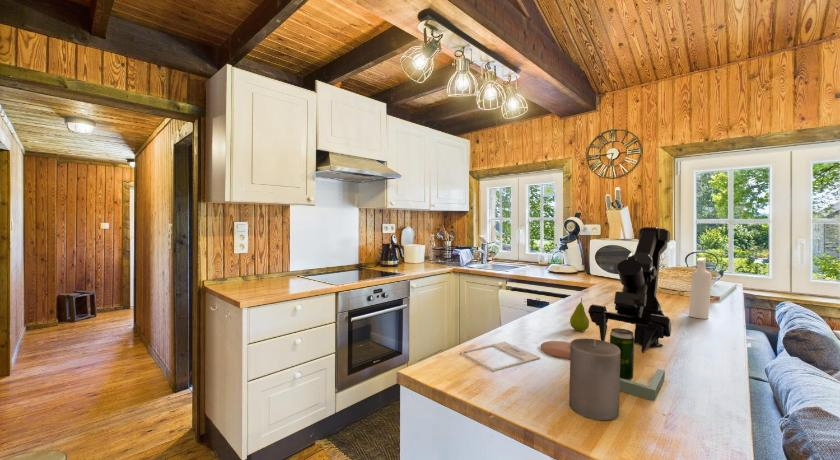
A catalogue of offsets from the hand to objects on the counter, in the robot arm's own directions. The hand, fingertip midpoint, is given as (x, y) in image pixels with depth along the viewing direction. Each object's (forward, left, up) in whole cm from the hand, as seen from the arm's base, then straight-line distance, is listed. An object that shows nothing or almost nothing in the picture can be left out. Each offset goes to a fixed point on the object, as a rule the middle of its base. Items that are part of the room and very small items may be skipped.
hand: (621, 347), depth 90 cm
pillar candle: (+18, +11, -8) cm, 22 cm away
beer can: (0, 0, -8) cm, 8 cm away
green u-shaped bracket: (+1, +1, -8) cm, 8 cm away
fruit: (-16, -35, -8) cm, 39 cm away
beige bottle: (-79, -39, -8) cm, 89 cm away
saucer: (+3, -19, -8) cm, 21 cm away
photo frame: (+24, -20, -8) cm, 32 cm away
